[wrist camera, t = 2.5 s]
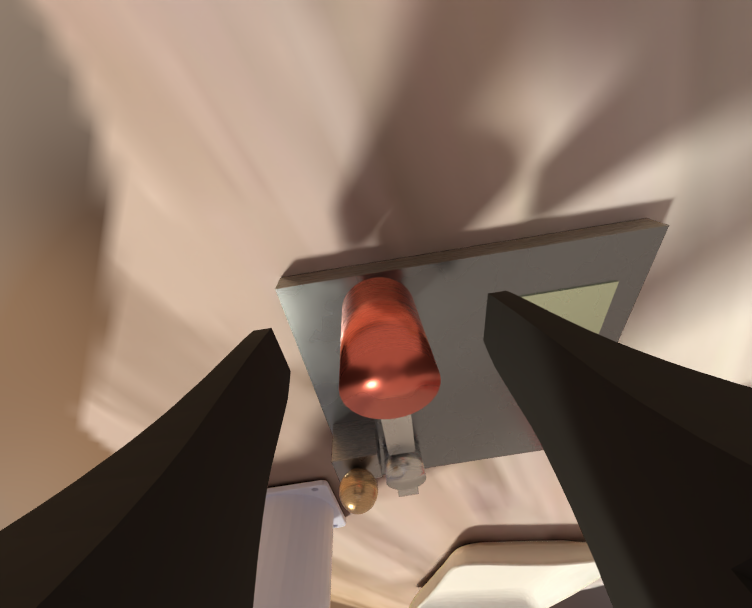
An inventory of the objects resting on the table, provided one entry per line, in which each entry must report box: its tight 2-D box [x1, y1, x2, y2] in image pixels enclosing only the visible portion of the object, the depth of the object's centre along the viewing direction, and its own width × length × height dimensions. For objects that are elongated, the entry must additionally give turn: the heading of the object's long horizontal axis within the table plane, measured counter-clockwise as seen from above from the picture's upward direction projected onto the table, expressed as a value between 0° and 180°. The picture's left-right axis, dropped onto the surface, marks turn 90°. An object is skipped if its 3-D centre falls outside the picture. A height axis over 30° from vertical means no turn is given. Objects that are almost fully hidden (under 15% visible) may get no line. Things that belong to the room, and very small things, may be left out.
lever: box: [339, 277, 441, 497], centre depth 14 cm, size 17×3×5 cm, turn 8°
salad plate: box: [409, 540, 601, 608], centre depth 36 cm, size 21×21×3 cm
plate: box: [275, 218, 669, 514], centre depth 14 cm, size 16×16×5 cm
